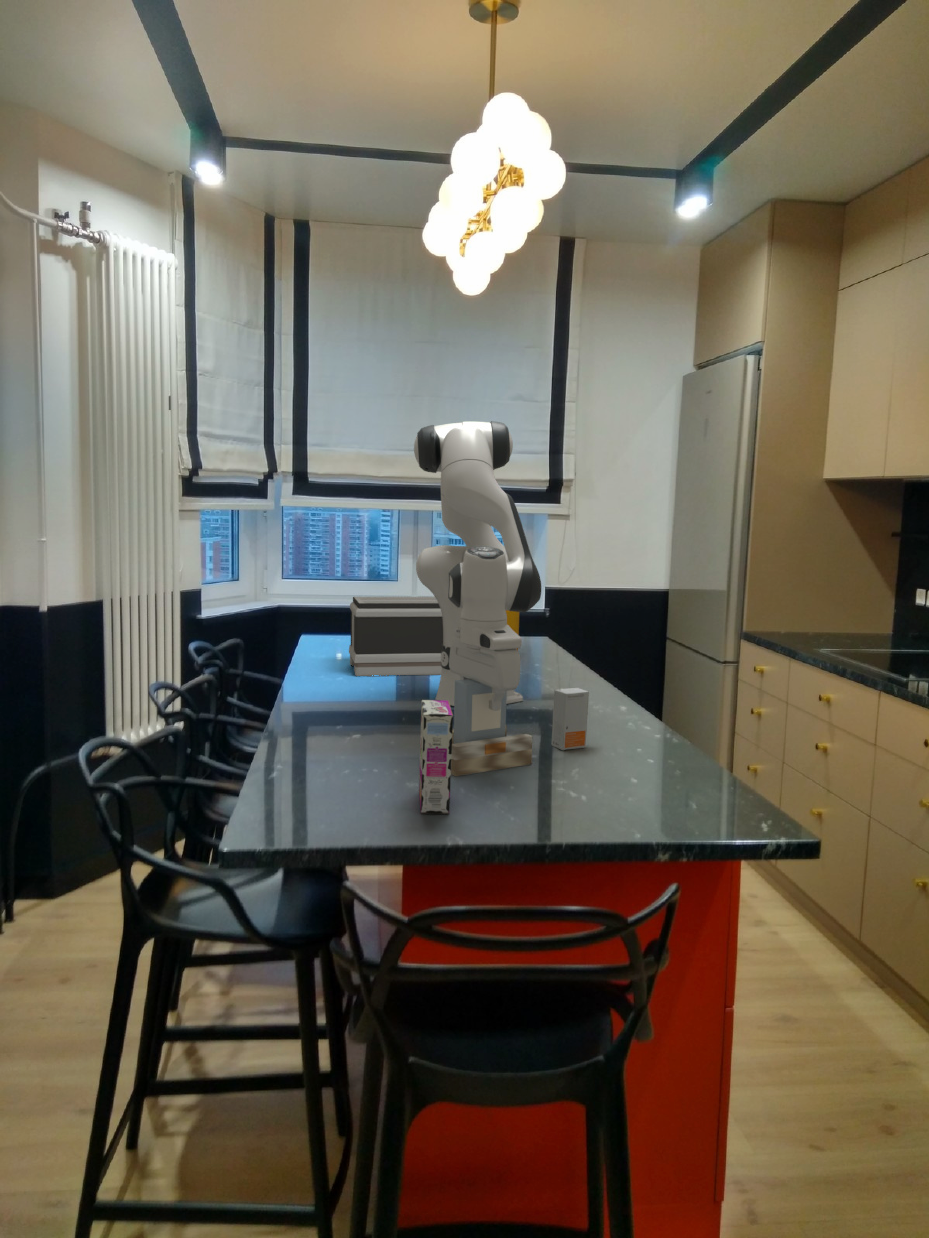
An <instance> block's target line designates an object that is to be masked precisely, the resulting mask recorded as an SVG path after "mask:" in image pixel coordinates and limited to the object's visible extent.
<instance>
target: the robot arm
mask: <svg viewBox="0 0 929 1238" xmlns="http://www.w3.org/2000/svg"><path fill="white" fill-rule="evenodd" d="M416 433H417V435H416V437H415V439H414V443H413V452H414V454H413V455H414V457H415V460H416V462H417V463H418V467H420V469H421V470H423V471H424V472H427V473H433V474H436V473H437V472H438V473H440V502H441V506H440V507H441V520H442V524H443V526H444V527H445V528H446V529H447V530H448V531H449V532H450V533H452V534H453V535H456V536H458V538H460V539H461V540H462V541H463V542H464V544H465V545H446V544H445V545H444V544H443V545H437V546H429V547H425V548H424V549H423V550H422V551H421V552H420V553H419V555H418V557H417V559H416V564H415V571H416V572H415V573H416V574H417V575H416V576H417V578H418V580H419V582H420V583H421V584H422V585H423V586H425V587H426V589H427V590H429V591H430V592H431V594H433V597H435V598H436V599H437V601H438V603H439V606H440V608H441V612H442V618H443V644H442V646H441V667H442V670H441V675H440V677H439V678H440V679H439V684H438V689H437V692H436V695H435V699H434V700H446V701H449V704H450V706H452V707H454V697H455V680H466V679H471V680H474V681H476V682H479V683H482V684H484V685H487V686H489V687H492V693H493V696H492V699H491V700H489V709H491V710H493V711H498V710H500V709H501V701H502V698H503V696H504V694H505V691H507V699H506V705H507V704H512V703H513V704H514V703H519V702H523V701H524V697H523V695H522V694H521V693H520V692H517V691H516V689H517V688H518V686H519V684H520V679H521V677H520V676H521V655H520V651H519V649H521V647H522V637H521V636H520V635H518V634H516V633H515V632H514V631H513V630H512V629H511V628H510V626H509V625H507V614H506V610H509V611H515V612H519V613H526V612H528V611H530V610H531V609H533V607H534V606H535V605H537V604H538V602H540V600H541V598H542V597H541V596H542V579H541V576H540V573H539V570H538V568H537V566H536V564H535V561H534V559H533V556H532V554H531V550H530V546H529V542H528V540H527V537H526V534H525V531H524V528H523V525H522V521H521V517H520V514H519V511H518V509H517V506H516V503H515V501H514V499H513V497H512V496H511V495H510V494H509V493H507V492H505V491H504V490H503V489H502V488H501V486H500V485H499V483H498V482H497V480H496V478H495V473H494V471H495V470H497V469H500V468H503V467H505V466H506V465H507V464H508V463H509V462H510V459H511V456H512V453H513V448H514V447H513V446H514V445H513V437H512V435H511V432H510V431H509V427H508V426H507V425H506V424H505V423H504V422H500V421H494V420H491V421H490V422H488V421H472V420H471V421H469V420H468V421H461V422H454V423H445V424H440V425H439V424H438V425H434V424H431V425H427V426H423V427H421V428H420V430H418V432H416ZM493 528H494V529H495V530H496V531H497V532H498V533H499V535H500V536H501V539H502V542H503V544H502V542H501V541H500V540H499V538H497V536H496V535H495V532H494V530H493ZM516 648H518V650H517V649H516Z"/></svg>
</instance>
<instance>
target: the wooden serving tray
mask: <svg viewBox="0 0 929 1238" xmlns="http://www.w3.org/2000/svg"><path fill="white" fill-rule="evenodd" d="M507 729H508V725H506V729H505V737H500V738H493V739H486V740H478V741H471V742H464V743H456V744H453V738H454V728H453V731H452V758H451V776H454V777H460V776H465V775H466V776H467V775H472V773H473V774H477V773H483V772H489V771H490V772H491V771H497V770H503V769H508V768H509V769H510V768H515V767H521V766H522V767H523V766H527V765H528V766H529V765H533V763H532V761H533V735H530V734H528V733H525V734H524V733H523V734H516V735H507V733H508V732H507V731H508V730H507Z"/></svg>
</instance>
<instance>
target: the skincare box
mask: <svg viewBox="0 0 929 1238" xmlns="http://www.w3.org/2000/svg"><path fill="white" fill-rule="evenodd" d="M553 694H554V695H553V707H552V708H553V710H552V713H553V714H552V731H551V746H552V747H555V748H556V749H559V750H561V751H565V750H576V749H585V748H586V746H587V732H588V731H587V730H588V729H587V727H588V713H589V712H588V710H589V696H590V692H589V691H588V690H585V689H582V688H580V687H574V688H571V687H570V688H568V687H567V688H561V689H554V693H553Z"/></svg>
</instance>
